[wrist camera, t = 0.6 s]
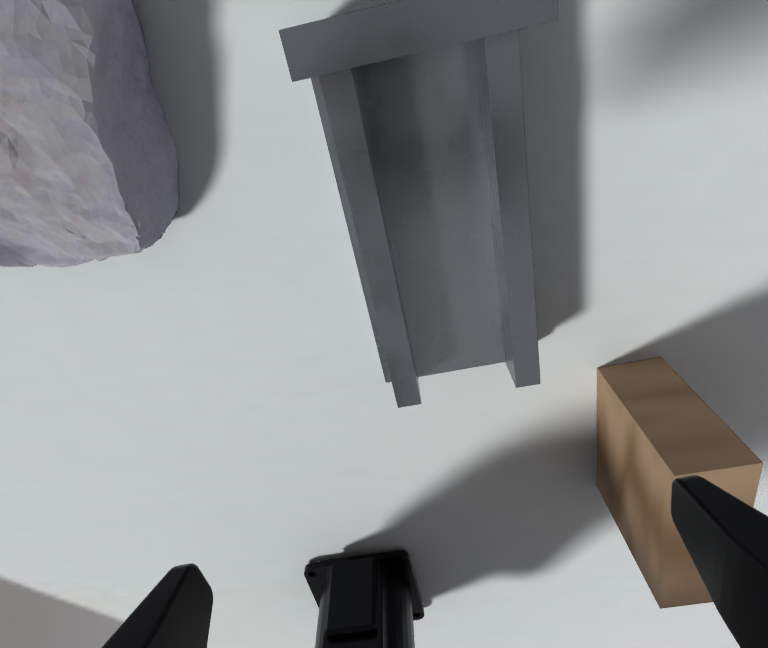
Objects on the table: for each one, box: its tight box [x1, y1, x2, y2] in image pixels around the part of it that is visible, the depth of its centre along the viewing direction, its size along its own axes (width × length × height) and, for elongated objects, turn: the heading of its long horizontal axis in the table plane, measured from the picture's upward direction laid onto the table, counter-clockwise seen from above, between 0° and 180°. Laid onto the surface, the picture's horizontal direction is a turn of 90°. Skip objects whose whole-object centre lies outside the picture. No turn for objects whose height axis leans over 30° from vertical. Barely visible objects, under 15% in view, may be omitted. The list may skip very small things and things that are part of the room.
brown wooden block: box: [596, 357, 763, 609], centre depth 22 cm, size 8×3×7 cm, turn 12°
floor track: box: [279, 0, 558, 408], centre depth 17 cm, size 14×7×5 cm, turn 12°
